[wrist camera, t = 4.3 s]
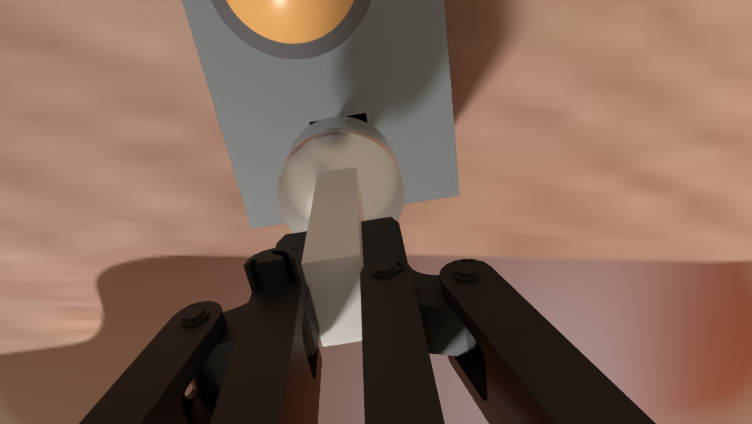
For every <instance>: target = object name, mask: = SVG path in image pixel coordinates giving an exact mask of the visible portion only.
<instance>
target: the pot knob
mask: <svg viewBox="0 0 752 424" xmlns="http://www.w3.org/2000/svg"><path fill="white" fill-rule="evenodd" d="M371 1H372V0H211V2H212V4H213V6H214V8H215V9H216V11H217V12H218V14H219V16H220V17H221V19H222V20H223V21H224V22H225V24H226V25H227V26H228V27H229V28H230V29H231V30H232V31H233V32H234V33H235V34H236V36H238V37H239V38H240V39H241V40H243V41H244V42H245V43H247V44H248V45H250V46H251V47H253V48H255V49H257V50H259V51H261V52H263V53H265V54H268V55H271V56H274V57H278V58H284V59H308V58H312V57H317V56H320V55H322V54H325V53H328V52H330V51H331V50H333V49H335V48H337V47H338V46H340V45H341V44H342V43H343V42H345V41H346V40H347V39H348V38H349V37H350V36H351V35H352V34H353V33H354V32H355V31H356V29H357V28H358V27H359V25H360V24H361V22H362V21H363V19H364V17H365V15H366V14H367V11H368V9H369V7H370V4H371Z"/></svg>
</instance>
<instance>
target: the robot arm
mask: <svg viewBox="0 0 752 424" xmlns="http://www.w3.org/2000/svg"><path fill="white" fill-rule="evenodd" d="M244 268H245V272H246V275H247V278H248V280H249V284H250V287H251V290H252V294H251V297H250V300H249V302H248V303H246V304H244V305H242V306H239V307H237V308H234V309H231V310H228V311H226V312H223V310H222V308H221V305H219V304H218V303H216V302H212V301H205V302H198V303H195V304H191V305H189V306H187V307H186V308H184V309H182V310H180V311H179V312H178V313H176V314H175V315H174V316H173V317H172V318H171V319H170V320H169V321H168V323H167V324H166V325H165V326H164V327H163V328H162V329H161V331H160V332H159V333H158V334H157V335H156V336H155V337H154V339H153V340H152V341H151V342H150V343H149V344H148V345H147V346H146V348H145V349H144V350H143V351H142V352H141V353H140V355H139V356H138V357H137V358H136V359H135V360H134V361H133V363H132V364H131V365H130V366H129V367H128V368H127V369H126V370H125V372H124V373H123V374H122V375H121V376H120V377H119V379H118V380H117V381H116V382H115V383H114V384H113V385H112V387H111V388H110V389H109V390H108V391H107V392H106V393H105V395H104V396H103V397H102V398H101V399H100V400H99V401H98V403H97V404H96V405H95V406H94V407H93V408H92V409H91V411H90V412H89V413H88V414H87V415H86V416H85V417H84V419H83V420H82V421H81V422H80V423H79V424H318V411H319V396H320V381H321V368H322V358H321V353H320V350H319V346H318V342H319V334H320V338H321V341H322V346H323V347H325V346H331V345H338V344H344V343H351V342H357V341H362V350H363V380H364V407H365V408H364V409H365V424H445V423H444V419H443V414H442V410H441V405H440V401H439V396H438V392H437V387H436V383H435V378H434V374H433V369H432V365H431V361H430V355H429V353H431V354H441V355H448V358H449V361H450V363H451V365H452V366H453V368H454V370H455V371H456V373H457V374H458V376H459V377H460V379H461V380H462V382H463V384H464V385H465V387H466V388H467V390H468V391H469V393H470V395H471V396H472V398H473V399H474V401H475V402H476V404H477V405H478V407H479V409H480V410H481V412H482V413H483V415H484V416H485V418H486V420H487V421H488V423H489V424H656V423H654V421H653V420H651V419H650V418H649V417H648V416H647V415H646V414H645V413H644V412H643V411H642V410H641V409H640V408H639V407H638V406H637V405H636V404H635V403H634V402H633V401H631V400H630V399H629V398H628V397H627V396H626V395H625V394H624V393H623V392H622V391H621V390H620V389H619V388H618V387H617V386H616V385H615V384H614V383H613V382H611V380H609V379H608V378H607V377H606V376H605V375H604V374H603V373H602V372H601V371H600V370H599V369H598V368H597V367H596V366H595V365H594V364H593V363H592V362H591V361H589V360H588V359H587V358H586V357H585V356H584V355H583V354H582V353H581V352H580V351H579V350H578V349H577V348H576V347H575V346H574V345H573V344H572V343H570V341H568V340H567V339H566V338H565V337H564V336H563V335H562V334H561V333H560V332H559V331H558V330H557V329H556V328H555V327H554V326H553V325H552V324H550V322H548V321H547V320H546V319H545V318H544V317H543V316H542V315H541V314H540V313H539V312H538V311H537V310H536V309H535V308H534V307H533V306H532V305H530V303H529V302H527V300H525V299H524V298H523V297H522V296H521V295H520V294H519V293H518V292H517V291H516V290H515V289H514V288H513V287H512V286H511V285H510V284H509V283H508V282H507V281H505V280H504V279H503V278H502V277H501V276H500V275H499V274H498V273H497V272H496V271H495V270H494V269H493V268H492V267H491V266H489V265H488V264H486V263H485V262H483V261H478V260H475V259H461V260H457V261H453V262H451V263H448V264H446V265H445V266H444V267H443V268H442V269H441V271H440V274H439V275H428V274H422V273H419V272H416V271H415V270H413V269H412V268H411V267H410V266H409V264H408V262H407V258H406V253H405V248H404V244H403V239H402V235H401V230H400V226H399V222H397V221H396V220H395V219H393V218H392V217H385V218H379V219H373V220H366V219H365V213H364V208H363V202H362V196H361V191H360V185H359V180H358V174H357V169H356V167H352V168H346V169H340V170H334V171H328V172H321V173H317V178H316V184H315V190H314V195H313V201H312V206H311V212H310V218H309V223H308V229H307V231H305V232H298V233H292V234H286V235H285V236H284V237H283V238H282V239H281V240H280V241H279V242H278V243H277V245H276V248H273V249H269V250H265V251H262V252H260V253H258V254H255V255H254V256H252V257H251V258H250V259H248V260H247V261H246V263H245V264H244ZM190 383H191V384H192V386H193V389H192V391H191V392H190V394H189V395H188V396H187V397H186V396H185V395H184V393H185V391H186V389H187V387H188V386H189V384H190Z"/></svg>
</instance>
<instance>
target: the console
mask: <svg viewBox="0 0 752 424" xmlns="http://www.w3.org/2000/svg"><path fill="white" fill-rule="evenodd" d="M182 2H183V5H184V8H185V12H186V15H187V18H188V22H189V25H190V28H191V31H192V35H193V38H194V41H195V45H196V48H197V51H198V54H199V58H200V61H201V64H202V68H203V71H204V74H205V77H206V81H207V84H208V87H209V91H210V94H211V97H212V100H213V104H214V107H215V110H216V114H217V117H218V120H219V123H220V127H221V130H222V133H223V137H224V140H225V143H226V146H227V150H228V153H229V156H230V160H231V163H232V166H233V169H234V173H235V176H236V179H237V183H238V186H239V189H240V192H241V196H242V199H243V202H244V206H245V209H246V212H247V215H248V219H249V222H250V225H251V229H253V228H259V227H266V226H272V225H278V224H284V223H285V222H284V220H283V218H282V216H281V214H280V211H279V208H278V203H277V185H278V181H279V177H280V174H281V171H282V169H283V166H284V163H285V161H286V158H287V155H288V152H289V150H290V148H291V146H292V144H293V142H294V140H295V139H296V138H297V137H298V135H299V134H300V133H301V132H302V131H303V130H304V129H306V128H307V127H308V126H310V125H312V124H311V122H313V121H319V120H323V119H326V118H331V117H343V116H349V115H355V114H362V113H366V116H367V122H368V124H370V125H372V126H373V127H375V128H376V129H377V130H379V131H380V132H381V133H382V134H383V135H384V136H385V138H386V139H387V140H388V142H389V143H390V145H391V147H392V149H393V152H394V155H395V158H396V161H397V164H398V168H399V171H400V174H401V178H402V182H403V186H404V204H408V203H415V202H421V201H427V200H433V199H439V198H446V197H452V196H458V195H460V194H459V181H458V169H457V156H456V143H455V130H454V117H453V104H452V91H451V78H450V66H449V53H448V40H447V27H446V14H445V1H444V0H372V1H371V4H370V7H369V9H368V11H367V14H366V15H365V17H364V19H363V21H362V22H361V24H360V25H359V27H358V28H357V29H356V31H355V32H354V33H353V34H352V35H351V36H350V37H349V38H348V39H347V40H346V41H345V42H343V43H342V44H341V45H340V46H338V47H337V48H335V49H333V50H331V51H330V52H328V53H325V54H322V55H320V56H317V57H312V58H308V59H284V58H278V57H274V56H271V55H268V54H265V53H263V52H261V51H259V50H257V49H255V48H253V47H251V46H250V45H248V44H247V43H245V42H244V41H243V40H241V39H240V38H239V37H238V36H236V34H235V33H234V32H233V31H232V30H231V29H230V28H229V27H228V26H227V25H226V24H225V22H224V21H223V20H222V19H221V17H220V16H219V14H218V12H217V11H216V9H215V8H214V6H213V4H212V2H211V0H182Z"/></svg>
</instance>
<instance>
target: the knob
mask: <svg viewBox="0 0 752 424" xmlns="http://www.w3.org/2000/svg"><path fill="white" fill-rule="evenodd" d="M352 167H356V169H357V174H358V180H359V185H360V191H361V196H362V202H363V208H364V213H365V219H366V220H373V219H379V218H385V217H392V218H393V219H395V220H396V221H398V219H399V217H400V214H401V212H402V208H403V204H404V186H403V182H402V178H401V174H400V171H399V168H398V164H397V161H396V158H395V155H394V152H393V149H392V147H391V145H390V143H389V142H388V140H387V139H386V138H385V136H384V135H383V134H382V133H381V132H380V131H379V130H377V129H376V128H375V127H373V126H372V125H370V124H368V123H366V122H364V121H362V120H359V119H358V116H357V115H356V114H355V115H349V116H343V117H331V118H326V119H323V120H320V121H317V122H315V123H313V124H312V125H310V126H308V127H307V128H306V129H304V130H303V131H302V132H301V133H300V134H299V135H298V137H297V138H296V139H295V140H294V142H293V144H292V146H291V148H290V150H289V152H288V155H287V158H286V161H285V163H284V166H283V169H282V171H281V174H280V177H279V181H278V185H277V203H278V208H279V211H280V214H281V216H282V218H283V220H284V222H285V224H286V225H287V227H288V228H289V229H290V230H291V231H292V233H298V232H305V231H307V229H308V223H309V218H310V212H311V206H312V201H313V195H314V190H315V184H316V178H317V173H321V172H328V171H334V170H340V169H346V168H352Z"/></svg>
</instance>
